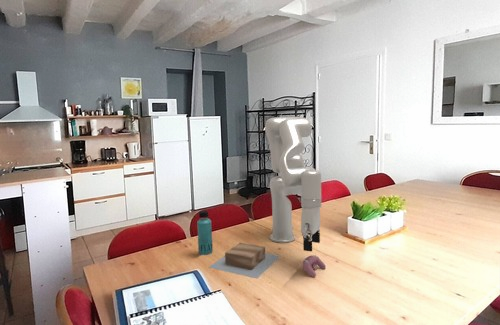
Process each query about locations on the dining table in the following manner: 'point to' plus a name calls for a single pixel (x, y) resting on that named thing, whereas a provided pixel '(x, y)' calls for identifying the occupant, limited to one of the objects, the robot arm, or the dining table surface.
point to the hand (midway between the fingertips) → (311, 246)
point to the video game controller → (312, 264)
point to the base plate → (250, 273)
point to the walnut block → (245, 256)
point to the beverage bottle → (204, 234)
